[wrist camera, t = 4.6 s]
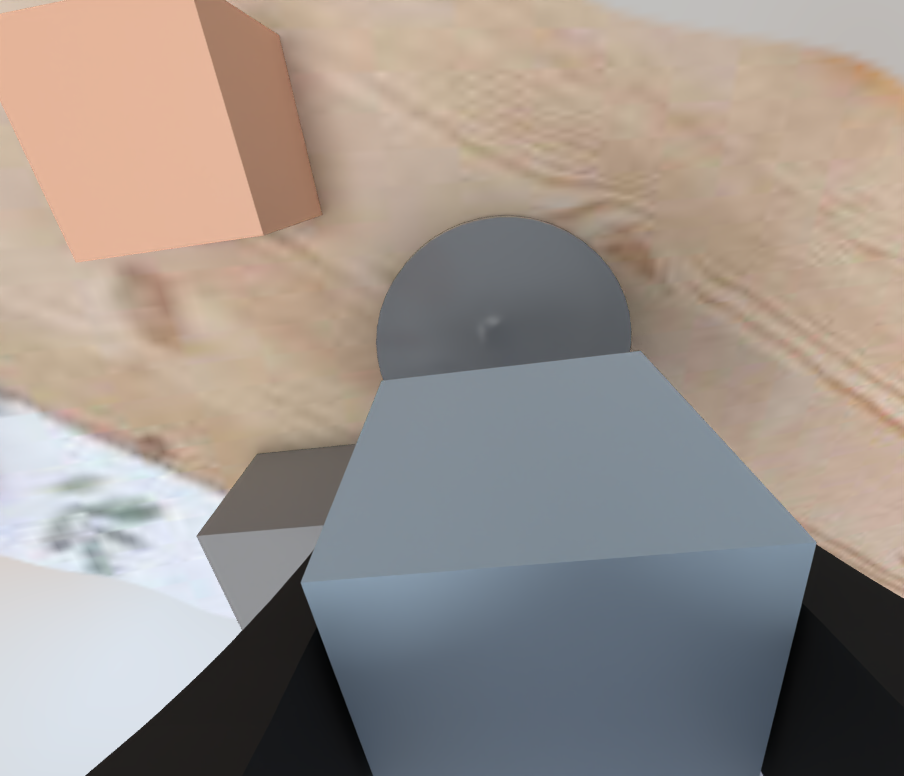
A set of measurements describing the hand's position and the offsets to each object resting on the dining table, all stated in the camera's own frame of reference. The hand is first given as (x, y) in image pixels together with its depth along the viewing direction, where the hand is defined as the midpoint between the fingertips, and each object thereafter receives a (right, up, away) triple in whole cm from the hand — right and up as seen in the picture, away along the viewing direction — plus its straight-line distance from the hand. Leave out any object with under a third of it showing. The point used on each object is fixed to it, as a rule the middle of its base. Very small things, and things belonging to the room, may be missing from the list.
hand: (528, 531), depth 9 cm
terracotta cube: (-9, +11, +7) cm, 15 cm away
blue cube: (0, +1, +2) cm, 2 cm away
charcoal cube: (-7, -2, +12) cm, 14 cm away
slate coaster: (0, +4, +9) cm, 10 cm away
